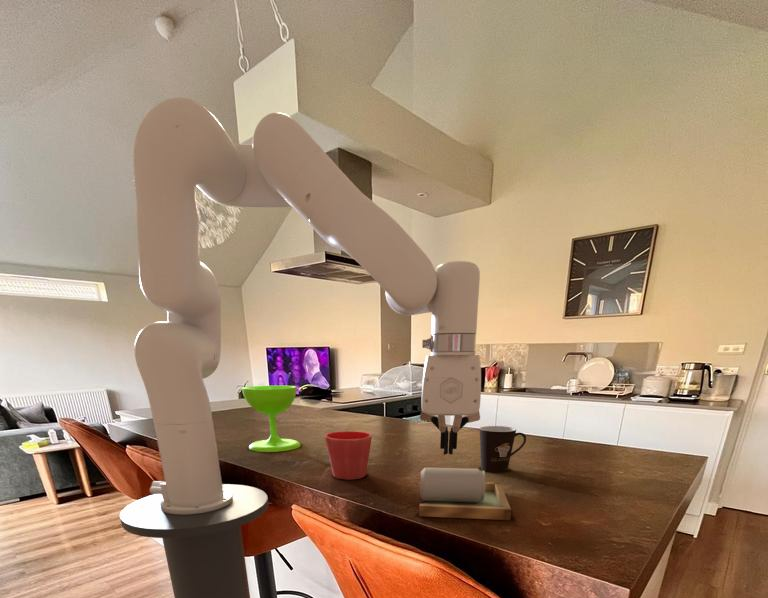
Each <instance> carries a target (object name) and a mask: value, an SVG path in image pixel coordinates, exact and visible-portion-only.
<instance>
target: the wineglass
mask: <svg viewBox="0 0 768 598" xmlns="http://www.w3.org/2000/svg"><path fill="white" fill-rule="evenodd" d="M241 391H242V396H243V397H244V399H245V401H246V402H247V403H248V405H249V406H250V407H251V408H252V409H254V410H255V411H257V412H258V413H261V414H264V415H268V419H269V430H270V435H269V437H268V439H262V440H256V441H254V442H252V443H251V444H249V446H248V449H249V450H250V451H252V452H259V453H278V452H286V451H292V450H297V449H299V448H301V446H302V445H301V442H299V441H298V440H295V439H290V438H280V437H279V435H278V430H277V419H276V415H279V414H281V413H283V412H286V410H287V409H288V408H290V407H291V406H292V404H293V403H294V401H295V399H296V396H297V386H295V385H254V386H243V387H241Z"/></svg>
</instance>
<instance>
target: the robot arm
mask: <svg viewBox="0 0 768 598" xmlns="http://www.w3.org/2000/svg"><path fill="white" fill-rule="evenodd" d="M133 177H134V188H135V189H134V190H135V200H136V201H135V203H136V232H137V235H136V236H137V256H138V277H139V285H140V289H141V291H142V294H143V296H144V297H145V298H146V300H147V301H148V302H149V303H150V304H152V305H153V306H154V307H156V308H157V309H160V310H162V311H164V312H166V313H167V321H166V320H165V321H164V320H161V321H155V322H151V323H149V324H147V325H146V326H144V327H143V328H142V329H141V330H140V331H139V332H138V334H137V336H136V339H135V341H134V349H133V350H134V358H135V363H136V366H137V369H138V372H139V375H140V377H141V379H142V382H143V385H144V388H145V391H146V395H147V398H148V402H149V408H150V412H151V416H152V422H153V425H154V431H155V436H156V441H157V447H158V451H159V457H160V462H161V467H162V471H163V478H164V481H163V480H153V481H152V482H151V486H150V488H149V493H150V495H153V494H162V495H163V500H162V501H161V502H160V507H161V510H162V511H164V512H166V513H169V514H175V515H190V514H200V513H206V512H210V511H214V510H218V509H221V508H223V507H225V506H227V505H229V504H230V503H231V502H232V500H233V497H232V493H230V492H229V491H226V490H223V487H222V484H223V481H222V475H221V468H220V461H219V453H218V446H217V440H216V433H215V425H214V419H213V414H212V407H211V403H210V398H209V394H208V392H207V388H206V384H205V382H204V379H206V378H208V377H211V376H212V374H214V373H215V371H216V370H217V369H218V366H219V363H220V360H221V350H222V349H221V347H222V346H221V345H222V344H221V343H222V341H221V340H222V339H221V338H222V335H221V334H222V296H221V291H220V287H219V283H218V280H217V278H216V276H215V274H214V273H213V272H212V270H211V269H210V268H209V267H208V266H207V265H206V264H205V263H203V262H201V256H200V219H199V211H198V206H197V201H196V200H197V199H196V198H197V197H196V190H197V189H196V188H198V190H200V192H202V193H203V195H205V196H206V197H207V198H208V199H210V200H211V201H212V202H215V203H217V204H219V205H221V206H226V207H239V208H293V209H294V210H295V211H296V212H297V213H298V215H299V216H300V217H301V218H302V219H303V220H304V221H305V222H306V223H307V224H308V225H309V226H310V227H311V228H312V229H313V230H314V231H315V232H316V233H317V235H319V236H320V238H321V239H322V240H323V241H324V242H325V243H327V245H330V247H331V248H334V249H337V250H339V251H342V252H343V253H345V254H347V255H348V256H349V257H351V259H353V260H354V261H355V262H356V263H358V264H359V266H360V267H362V268H363V269H364V270H365V271H366V272H367V274H369V275H370V277H371V278H372V279H374V281H375V282H376V283H377V284H378V285H379V286H380V287H381V288H382V289H383V290H384V292H385V293H384V295H385V300H386V302H387V304H388V306H389V307H390V309H391V310H392V311H394V312H395V313H396V314H399V315H401V316H414V315H415V316H417V315H422V314H427V313H431V327H430V337H429V338H426V339H422V342H421V343H422V345H421V346H422V348H423V349H427V350H429V351H430V355H426V356H425V359H424V364H423V371H422V383H421V401H420V402H421V404H420V406H421V410H420V415H419V419H420V420H421V421H424V422H428V423H432V424H433V425H434V426H435V427H436V428H437V429H438V430H439V432H440V442H439V443H440V444H439V450H443V455H447V454H449V455H453V453H454V450H457V447H458V433H459V431H461V429H463V427H464V426H466V425H467V424H469V423H475V422H479V421H480V420H481V413H480V408H481V399H482V397H481V395H482V366H481V365H482V364H481V356H480V355H479V354H476V347H477V345H476V344H477V329H478V326H477V325H478V313H479V312H478V309H479V297H480V296H479V295H480V280H481V275H480V274H481V272H480V268H479V267H478V265H477V264H476V263H475V262H471V261H466V260H465V261H463V260H456V261H447V262H443V263H440V264H438V265H436V267H435V266H434V265H433V263H432V260H431V259H430V258H429V256H428V255H427V254H426V253H425V252H424V251H423V249H422V248H421V247H420V246H419V245H418V244H417V243H416V242H415V240H414V239H413V238H412V237H411V236H410V234H409V233H407V232H406V230H404V228H403V227H402V226H401V225H400V223H398V222H397V220H395V219H394V218H393V217H392V216H391V215H390V214H389V213H387V211H385V210H383V208H381V207H380V206H379V205H377V204H376V203H375V202H374V201H373V200H372V199H371V198H369V197H368V196H367V195H365V194H364V193H363V192H362V191H361V190H360V189H359V188H358V187H357V185H355V184H354V183H353V181H352V180H350V179H349V177H348V176H347V175H346V174H345V173H344V172H343V171H342V169H340V167H339V166H338V165H337V164H336V163H335V161H333V159H331V157H330V156H329V155H328V154H327V153H326V152H325V151H324V150H323V149H322V147H321V146H320V144H319V143H317V142H316V141H315V140H314V138H313V137H312V136H311V135H310V134H309V133H308V132H307V130H306V129H305V128H304V127H302V125H301V124H300V123H299V122H297V121H296V120H295V119H294V118H292V117H291V116H289V115H288V114H286V113H283V112H271V113H268V114H267V115H265V116H263V117H262V118H261V119H260V121H259V122H258V123H257V125H256V127H255V129H254V133H253V137H252V144H234V142H233V141H232V138H231V137H230V136H229V134H228V133H227V131H226V130H225V128H224V127H223V125H222V124H221V123H220V121H219V120H218V119H217V118H216V116H215V115H214V114H213V113H212V112H211V111H210V110H208V109H207V108H206V107H205V106H204V105H202V104H200V103H199V102H197V101H195V100H193V99H190V98H188V97H180V96H179V97H171V98H167V99H165V100H162V101H160V102H159V103H157V104H155V105H154V106H153V107H152V108H151V109H150V110H149V111H148V112H147V113H146V115H145V116H144V118H143V119H142V121H141V122H140V125H139V126H138V129H137V132H136V136H135V140H134V147H133ZM446 416H450V417H451V416H454V417H453V420H452V421H453V422H452V426H450V430H449V427H448V425H447V423H446V421H447V420H446Z"/></svg>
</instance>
